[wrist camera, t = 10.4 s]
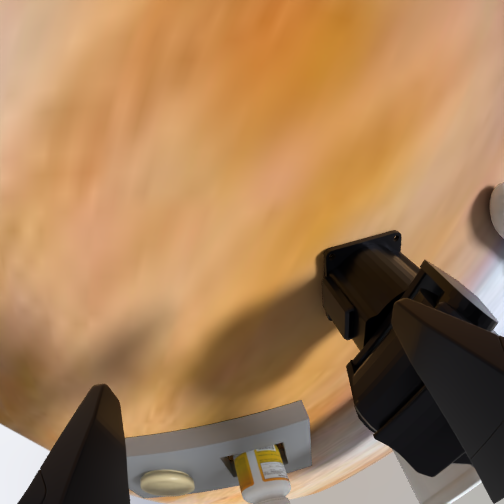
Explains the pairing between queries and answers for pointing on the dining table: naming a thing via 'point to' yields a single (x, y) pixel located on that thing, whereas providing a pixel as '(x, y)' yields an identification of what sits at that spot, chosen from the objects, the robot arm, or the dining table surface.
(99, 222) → the dining table surface
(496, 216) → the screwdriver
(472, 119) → the dining table surface
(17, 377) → the dining table surface
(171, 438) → the plate
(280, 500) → the supplement bottle
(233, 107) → the dining table surface
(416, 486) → the utensil holder
